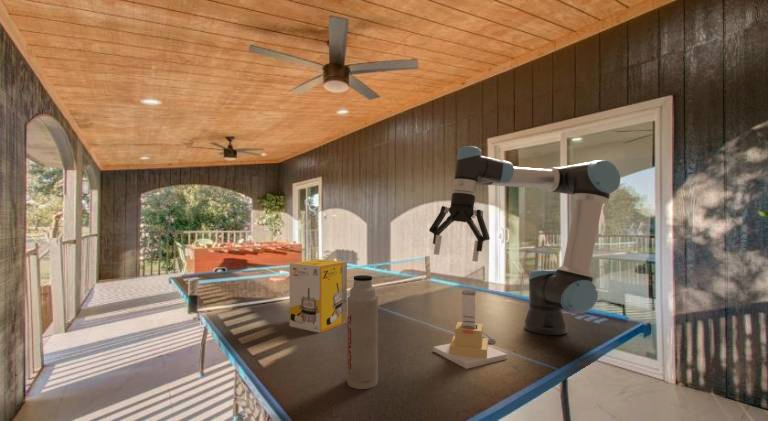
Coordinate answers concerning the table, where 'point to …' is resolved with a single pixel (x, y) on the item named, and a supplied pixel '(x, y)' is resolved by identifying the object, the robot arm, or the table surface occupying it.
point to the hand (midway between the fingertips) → (454, 257)
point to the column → (469, 309)
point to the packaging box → (318, 294)
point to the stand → (469, 348)
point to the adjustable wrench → (489, 338)
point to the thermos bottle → (362, 334)
